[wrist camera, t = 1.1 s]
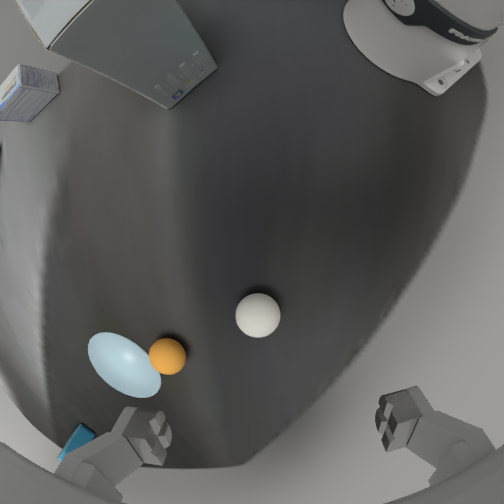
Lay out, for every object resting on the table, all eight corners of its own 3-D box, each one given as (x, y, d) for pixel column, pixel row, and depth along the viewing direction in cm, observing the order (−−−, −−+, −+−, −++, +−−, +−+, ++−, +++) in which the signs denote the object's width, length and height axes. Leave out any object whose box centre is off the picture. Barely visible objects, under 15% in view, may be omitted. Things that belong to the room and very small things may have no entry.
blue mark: (120, 319, 35) (119, 320, 35) (178, 387, 38) (178, 388, 38) (76, 346, 38) (75, 346, 38) (126, 402, 41) (125, 402, 41)
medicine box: (57, 72, 25) (19, 61, 17) (61, 93, 26) (20, 84, 18) (27, 102, 26) (-10, 98, 18) (30, 123, 27) (-9, 121, 19)
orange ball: (175, 326, 34) (162, 347, 30) (197, 353, 35) (187, 376, 31) (150, 338, 35) (136, 358, 31) (171, 363, 36) (160, 385, 32)
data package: (86, 441, 51) (70, 469, 39) (73, 431, 50) (56, 459, 39) (96, 432, 47) (77, 465, 36) (82, 421, 47) (61, 453, 35)
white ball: (266, 278, 31) (265, 298, 27) (287, 311, 32) (289, 334, 28) (230, 297, 32) (223, 319, 28) (252, 328, 33) (248, 352, 29)
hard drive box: (221, 67, 25) (150, -45, 6) (169, 111, 27) (42, 58, 8) (150, 8, 22) (69, -68, 3) (107, 46, 24) (5, -5, 5)
